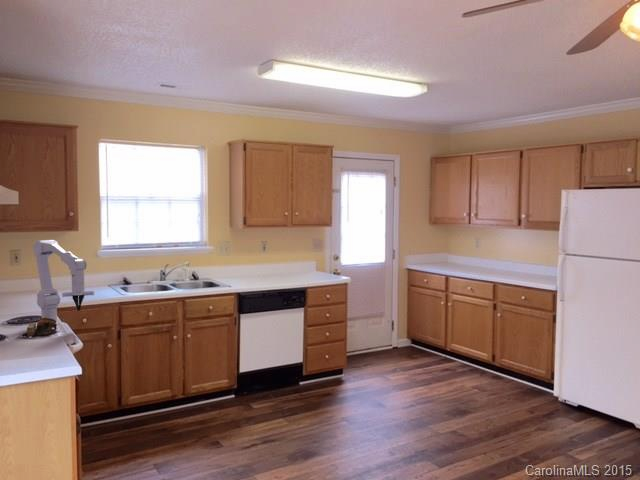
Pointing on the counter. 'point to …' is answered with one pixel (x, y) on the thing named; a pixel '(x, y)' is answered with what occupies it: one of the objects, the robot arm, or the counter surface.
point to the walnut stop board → (31, 329)
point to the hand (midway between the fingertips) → (78, 310)
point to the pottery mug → (45, 325)
